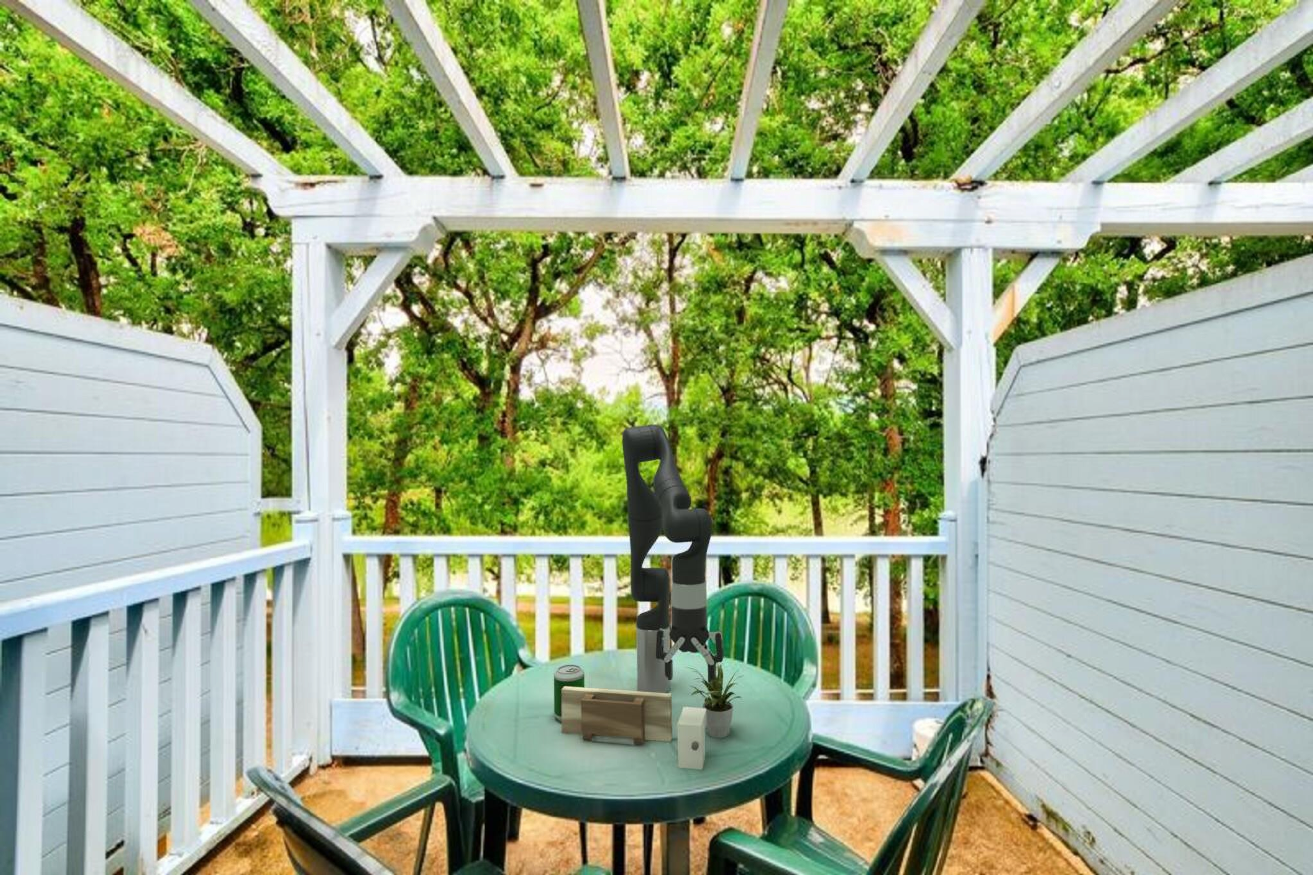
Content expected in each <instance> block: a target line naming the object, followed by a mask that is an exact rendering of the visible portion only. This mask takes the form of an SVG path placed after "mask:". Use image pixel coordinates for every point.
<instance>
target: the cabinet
mask: <svg viewBox="0 0 1313 875" xmlns="http://www.w3.org/2000/svg"><path fill="white" fill-rule="evenodd" d="M676 724H677V725H676V726H677V768H680V769H689V770H700V771H703V767H704V763H705V759H706V744H705V743H706V742H705V741H706V737H705V736H706V732H705V731H706V729H705V727H706V708H703V707H691V706H683V707H682V711H681V713H680V716H679V719H678V721H677V723H676ZM706 728H707V727H706Z"/></svg>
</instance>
